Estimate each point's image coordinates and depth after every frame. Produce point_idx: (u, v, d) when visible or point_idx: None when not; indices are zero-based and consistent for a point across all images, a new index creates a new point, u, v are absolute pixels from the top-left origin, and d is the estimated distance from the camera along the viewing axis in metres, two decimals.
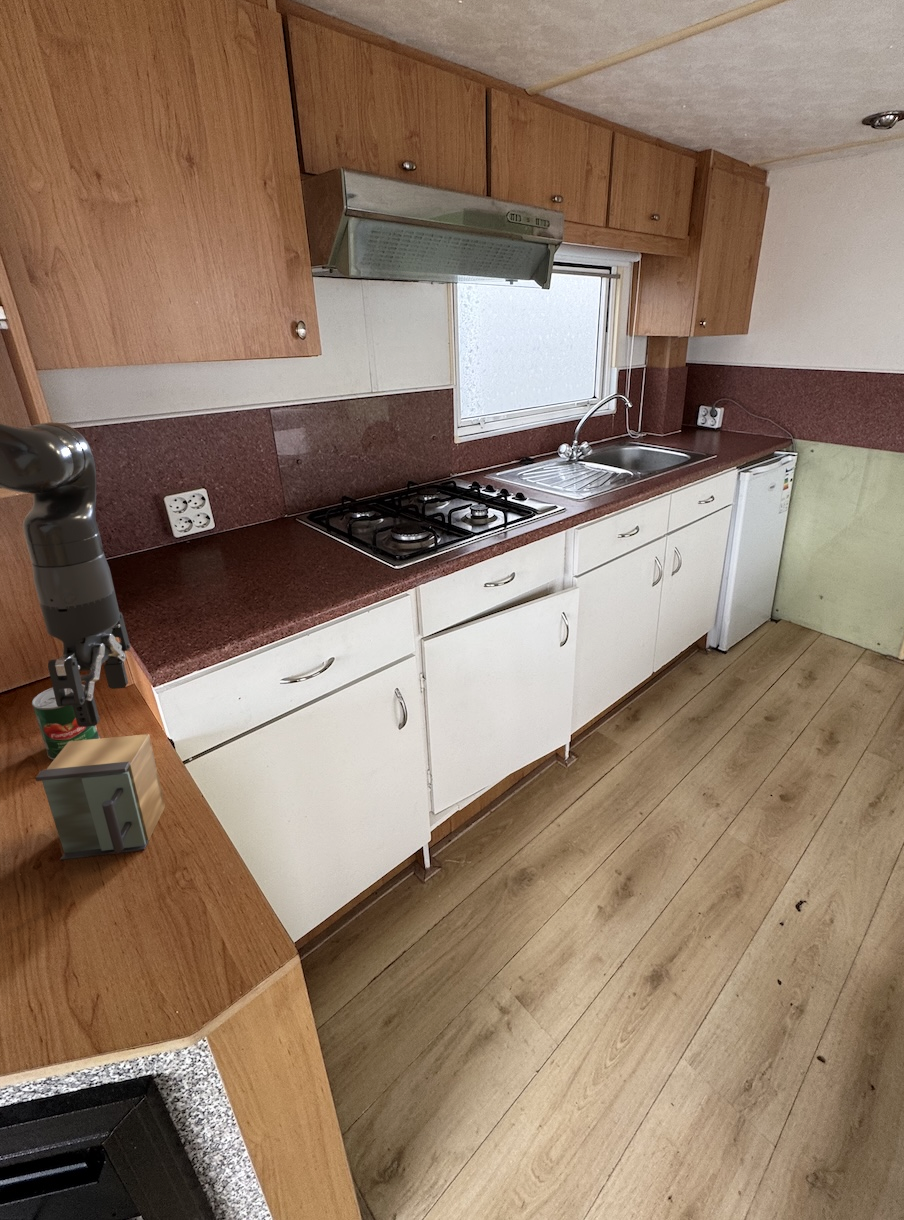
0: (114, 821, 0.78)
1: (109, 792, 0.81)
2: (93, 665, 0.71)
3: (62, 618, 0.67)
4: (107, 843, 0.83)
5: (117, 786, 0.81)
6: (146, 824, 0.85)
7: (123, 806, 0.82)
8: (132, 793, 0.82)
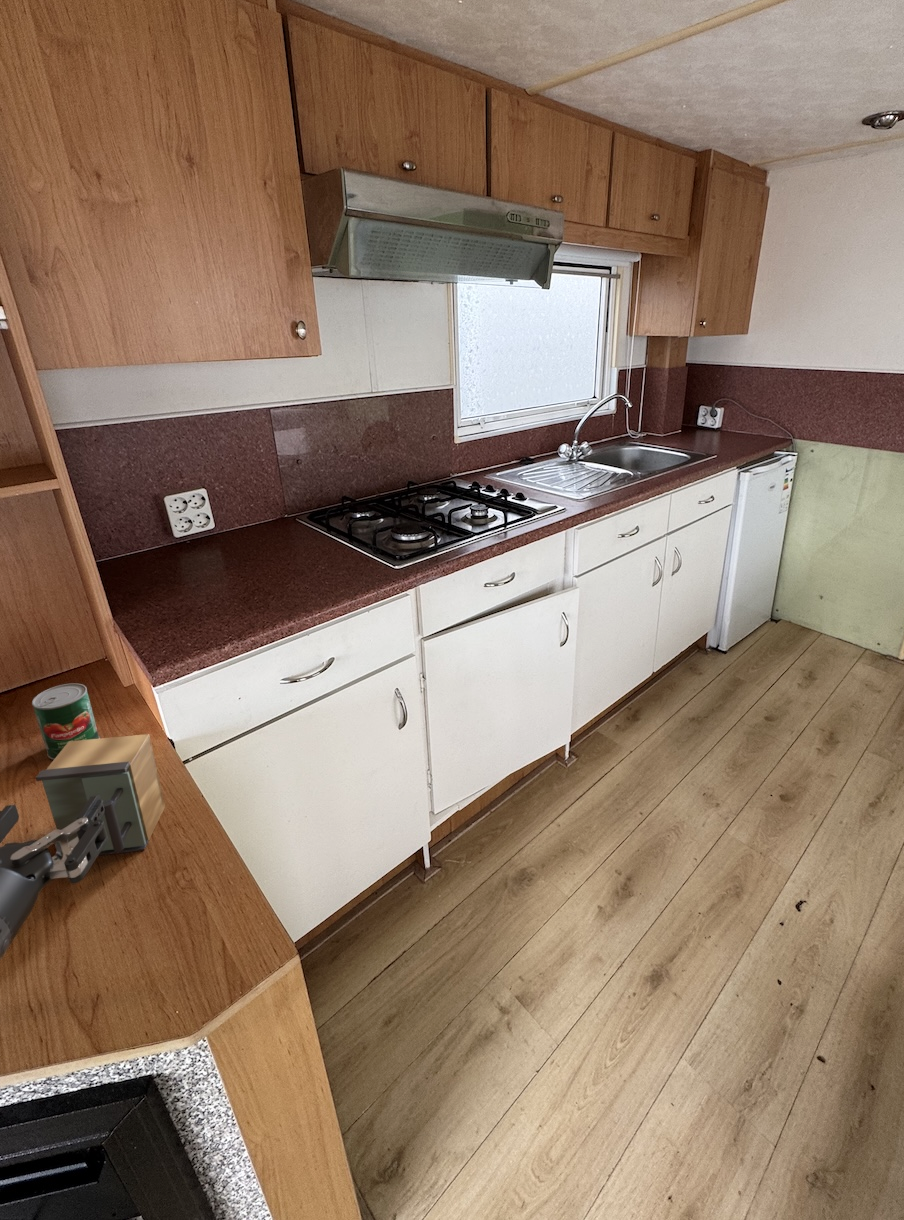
0: (114, 821, 0.78)
1: (109, 792, 0.81)
2: None
3: None
4: (107, 843, 0.83)
5: (117, 786, 0.81)
6: (146, 824, 0.85)
7: (123, 806, 0.82)
8: (132, 793, 0.82)
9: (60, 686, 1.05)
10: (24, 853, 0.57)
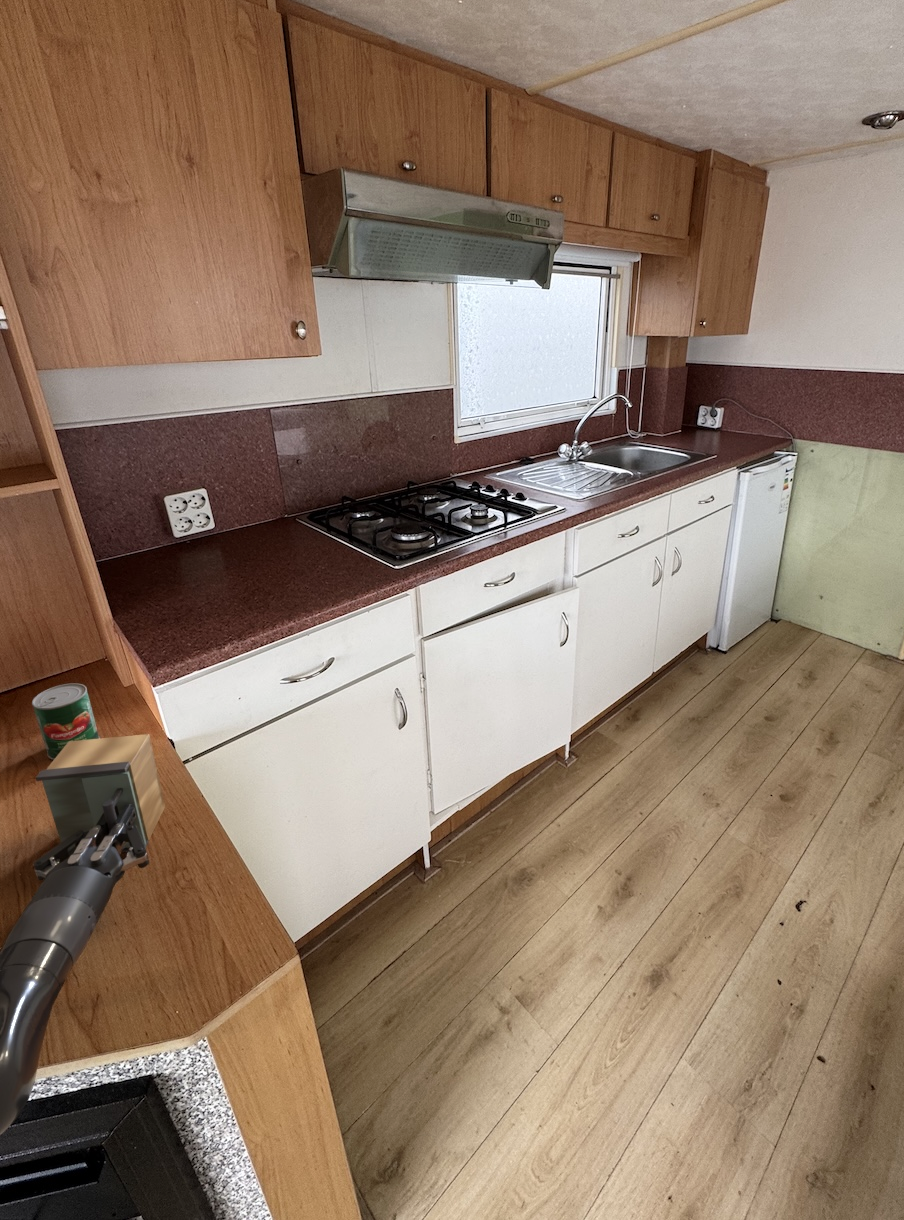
0: (114, 821, 0.78)
1: (109, 792, 0.81)
2: None
3: None
4: None
5: (117, 786, 0.81)
6: (146, 824, 0.85)
7: (123, 806, 0.82)
8: (133, 793, 0.82)
9: (60, 686, 1.05)
10: (101, 855, 0.72)
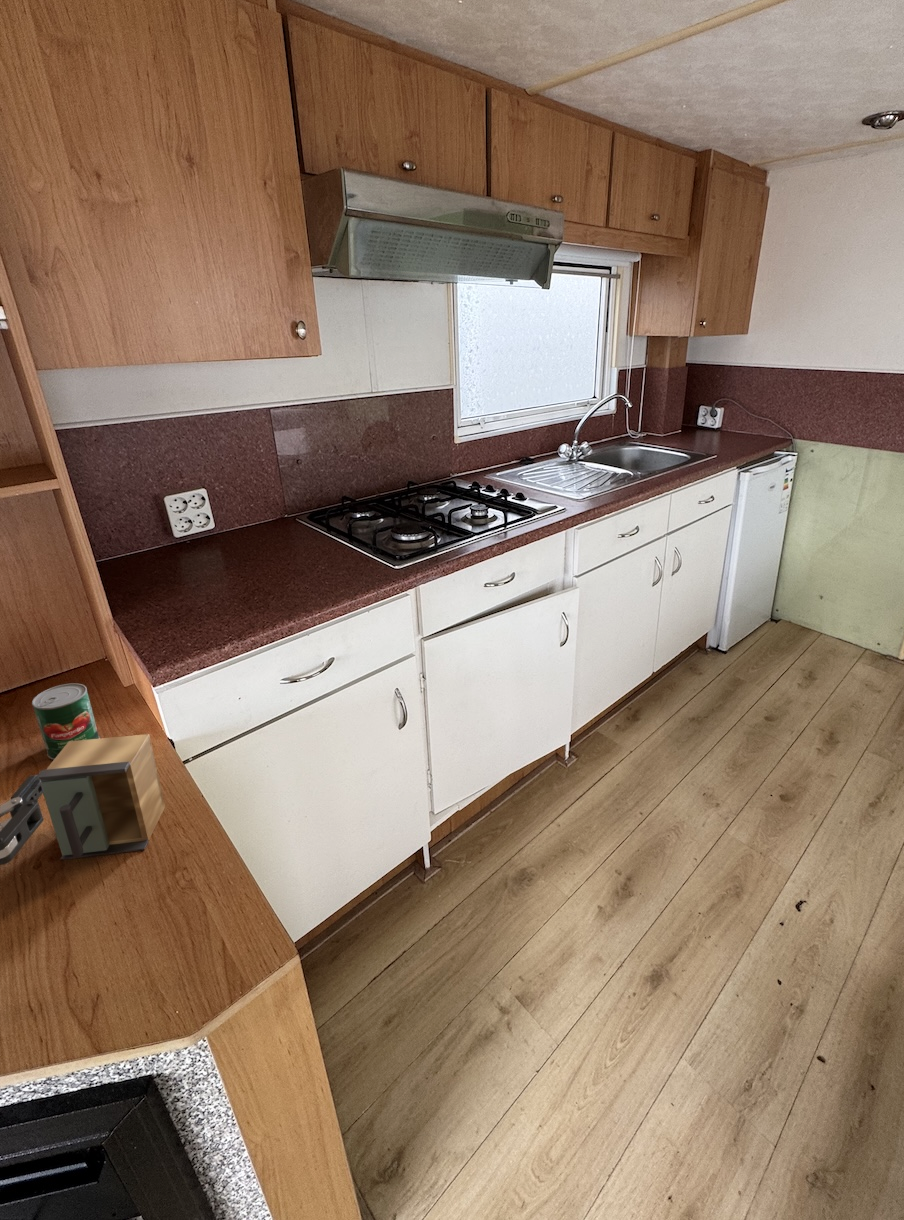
0: (72, 826, 0.77)
1: (68, 796, 0.80)
2: None
3: None
4: (68, 848, 0.82)
5: (77, 790, 0.80)
6: (146, 824, 0.85)
7: (83, 810, 0.81)
8: (93, 798, 0.81)
9: (60, 686, 1.05)
10: None
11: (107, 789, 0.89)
